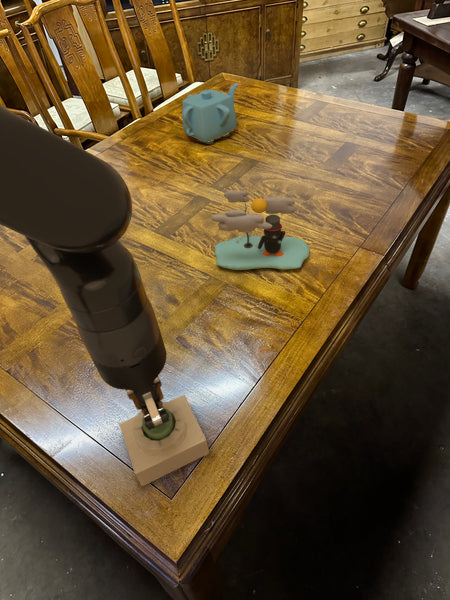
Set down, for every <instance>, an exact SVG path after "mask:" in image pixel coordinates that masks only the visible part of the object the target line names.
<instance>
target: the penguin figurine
mask: <svg viewBox="0 0 450 600" xmlns="http://www.w3.org/2000/svg"><path fill="white" fill-rule="evenodd" d="M223 197H224V198H226V199H227V201H228V202H229V203H233V204H234V203H244V206H245V209H244V207H243V208H241V207H240V206H238V208H239V209H230V210H226V211H225V212H224V213H217V214H213V215H210V219H211V220H212V221H213V222H217V223H218V224H217V227H218V229H219V230H220V231H223V232H234V231H238V233H242V234H243V235H240V236H236V237H233V238H230V239H228V240H223V241H220V242H219V243H217V244H216V245H215V246H214V255H215V257H216V265H217V266H219V267H221V268H224V269H227V270H234V271H245V270H246V271H247V270H257V269H267V268H268V269H275V270H276V269H278V270H293V269H299V268H301V267H302V265H303V264H304V261H305V260H306V259H308V258H309V256H310V252H311V248H310V246H309V245H308V243H307V242H306V241H305V240H304V239H302V238H300V237H296V236H285V235H286V230H282V229H283V225H282V223H281V217H280V216H284V215H285V214H286V215H291V214H294V213H296V207H295V205H296V202H295V200H294V199H293V198H291V197H277V196H276V197H273V196H272V197H265V198H260V197H258V198H257V197H256V198H255V199H253V200H252V202H251V203H250V204H248V205H247V203H248V202H250V197H249V192H248V191H246V190H228V191H227V190H226V191H225V192H224V193H223ZM247 207H250V208H251V210H252V211H253V212H254V213H247V209H248V208H247ZM243 209H244V210H243ZM264 212H265V213H266V214H267V216H266V217H264V216H263V215H261V214H262V213H264ZM277 214H279V215H280V216H279V215H277ZM256 229H258V230H259V231H262V230H263V234H264V235H262V236H260V235H259V234H258V233H257V232H255V231H256Z"/></svg>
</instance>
